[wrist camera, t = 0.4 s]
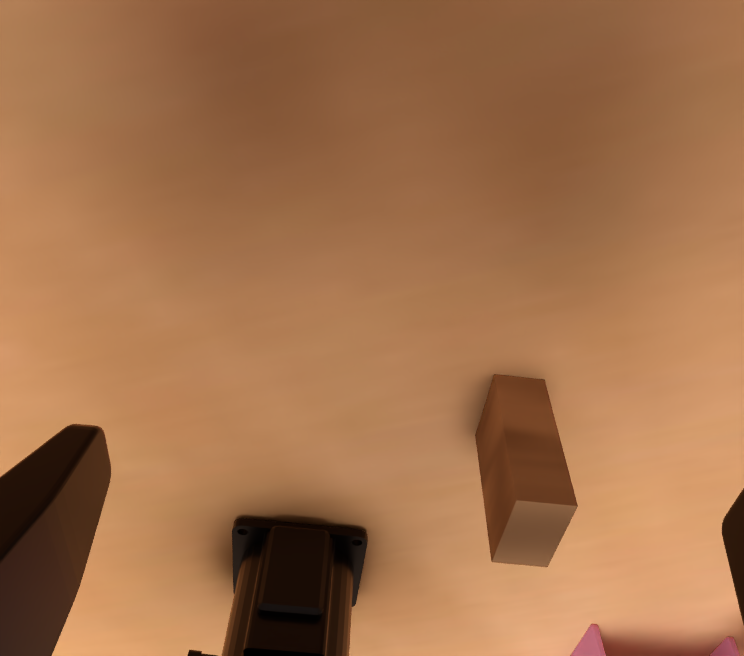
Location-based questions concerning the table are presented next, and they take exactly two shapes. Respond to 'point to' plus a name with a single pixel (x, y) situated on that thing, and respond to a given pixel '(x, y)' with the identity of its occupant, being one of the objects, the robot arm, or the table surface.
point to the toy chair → (592, 652)
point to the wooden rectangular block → (523, 473)
